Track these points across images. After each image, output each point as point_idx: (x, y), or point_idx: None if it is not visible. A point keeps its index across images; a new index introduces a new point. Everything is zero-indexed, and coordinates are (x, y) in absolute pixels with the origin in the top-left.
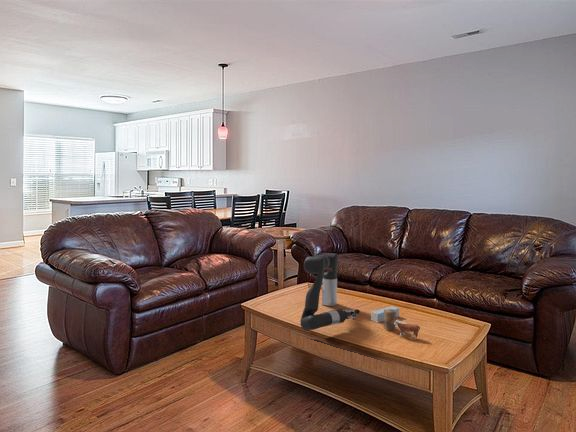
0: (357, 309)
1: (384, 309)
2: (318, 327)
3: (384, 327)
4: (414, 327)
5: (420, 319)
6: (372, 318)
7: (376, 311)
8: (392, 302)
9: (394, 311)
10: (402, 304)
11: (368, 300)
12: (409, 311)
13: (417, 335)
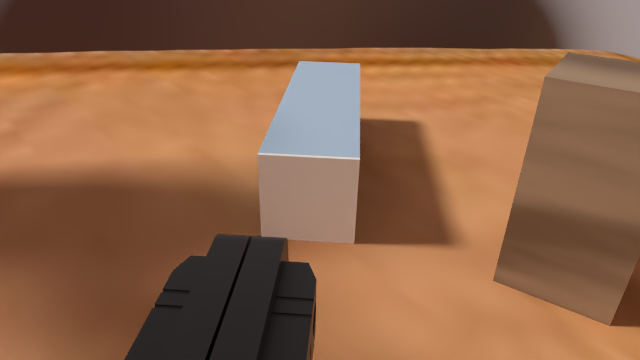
0: (236, 244)
1: (551, 76)
2: None
3: (538, 289)
4: None
5: (462, 101)
6: (282, 220)
7: (296, 134)
8: (188, 60)
9: None
10: (244, 57)
11: (46, 79)
12: None
13: None
